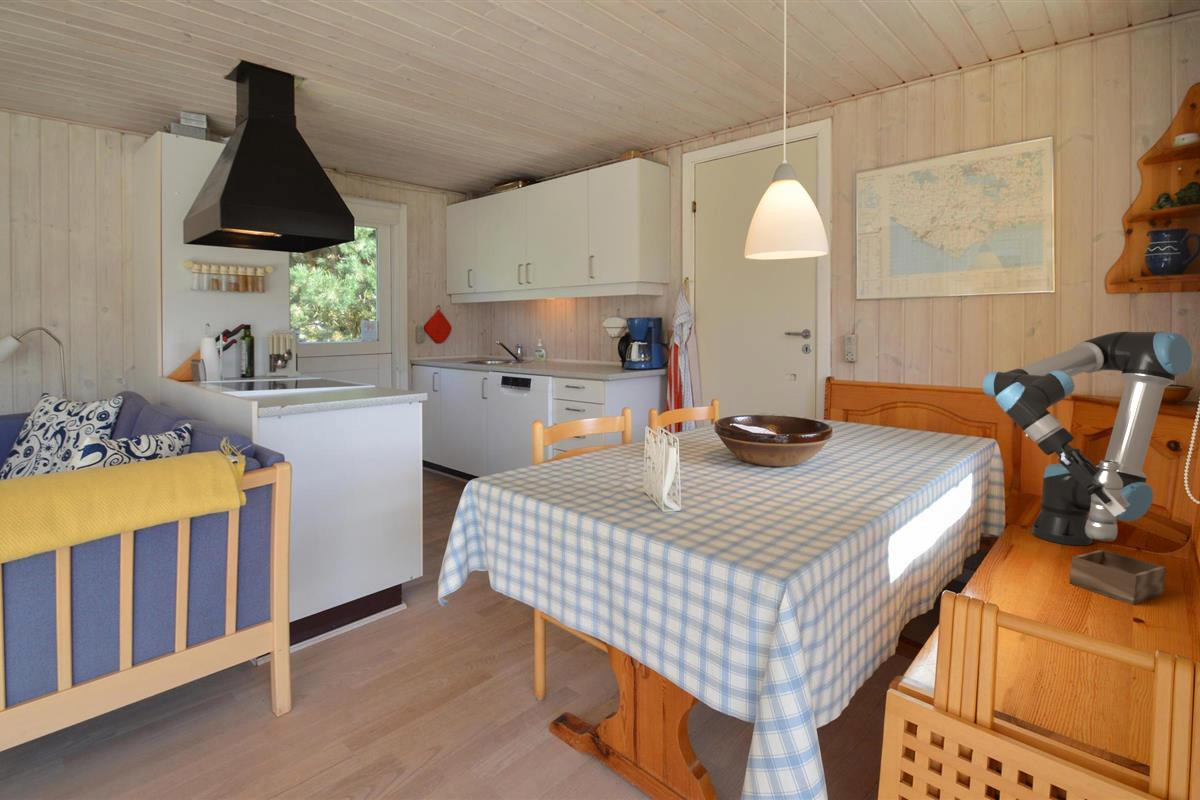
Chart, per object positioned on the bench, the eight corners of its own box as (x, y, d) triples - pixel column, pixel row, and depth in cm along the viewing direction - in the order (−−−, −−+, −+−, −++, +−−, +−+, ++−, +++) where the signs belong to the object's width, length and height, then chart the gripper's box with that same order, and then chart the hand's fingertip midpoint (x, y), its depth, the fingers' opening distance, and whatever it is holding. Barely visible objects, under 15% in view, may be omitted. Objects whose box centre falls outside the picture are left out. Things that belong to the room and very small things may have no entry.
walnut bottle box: (1099, 575, 167) (1102, 549, 167) (1162, 595, 155) (1166, 567, 155) (1069, 583, 162) (1072, 557, 161) (1133, 605, 149) (1136, 576, 149)
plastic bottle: (1081, 539, 159) (1090, 461, 157) (1086, 533, 164) (1095, 457, 162) (1114, 546, 155) (1124, 465, 152) (1118, 540, 160) (1127, 461, 157)
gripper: (1045, 439, 174) (1114, 511, 165) (1026, 448, 161) (1100, 526, 151) (1070, 422, 170) (1143, 495, 160) (1054, 430, 157) (1132, 510, 147)
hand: (1122, 510), depth 156 cm, fingers closed on plastic bottle, 6 cm apart
